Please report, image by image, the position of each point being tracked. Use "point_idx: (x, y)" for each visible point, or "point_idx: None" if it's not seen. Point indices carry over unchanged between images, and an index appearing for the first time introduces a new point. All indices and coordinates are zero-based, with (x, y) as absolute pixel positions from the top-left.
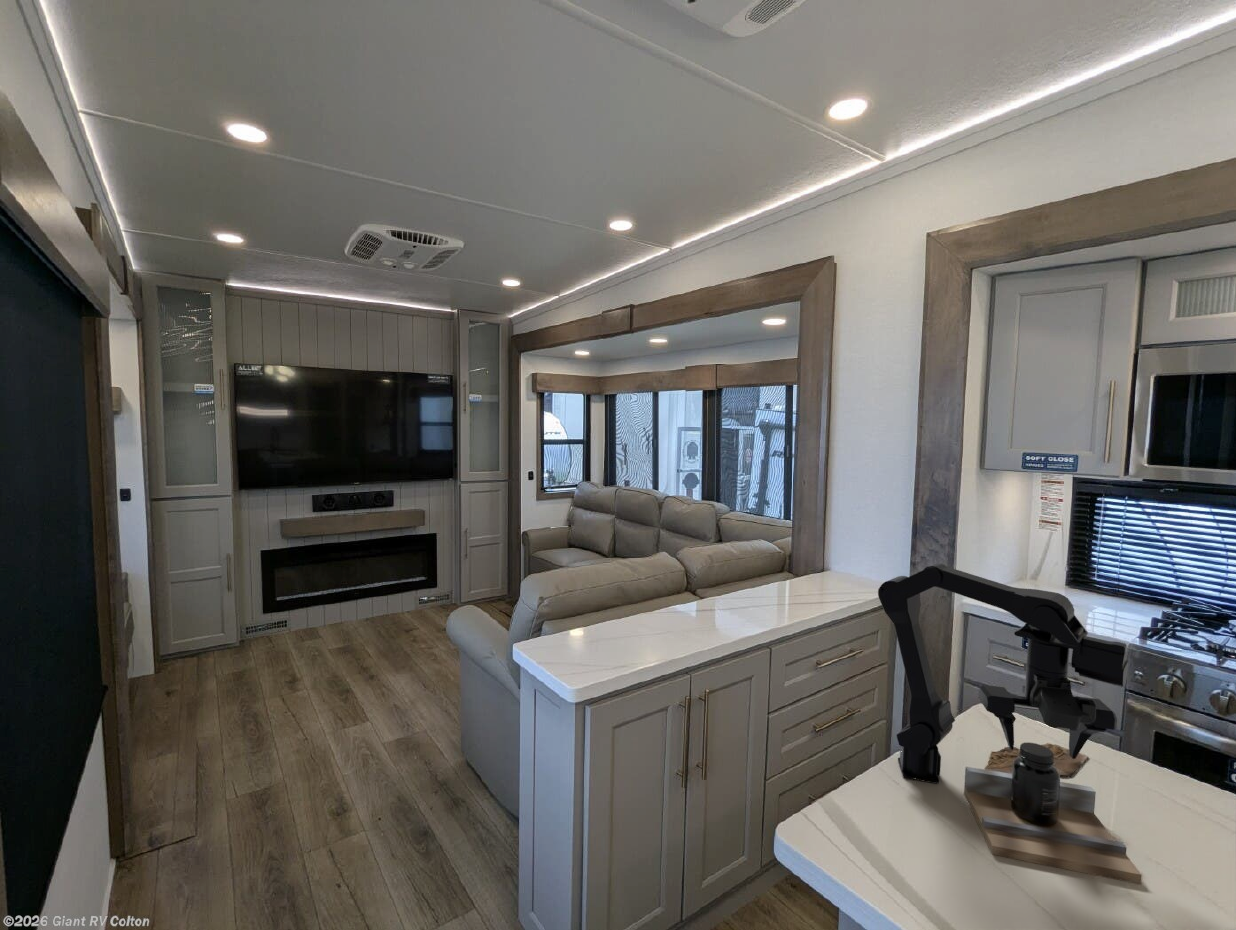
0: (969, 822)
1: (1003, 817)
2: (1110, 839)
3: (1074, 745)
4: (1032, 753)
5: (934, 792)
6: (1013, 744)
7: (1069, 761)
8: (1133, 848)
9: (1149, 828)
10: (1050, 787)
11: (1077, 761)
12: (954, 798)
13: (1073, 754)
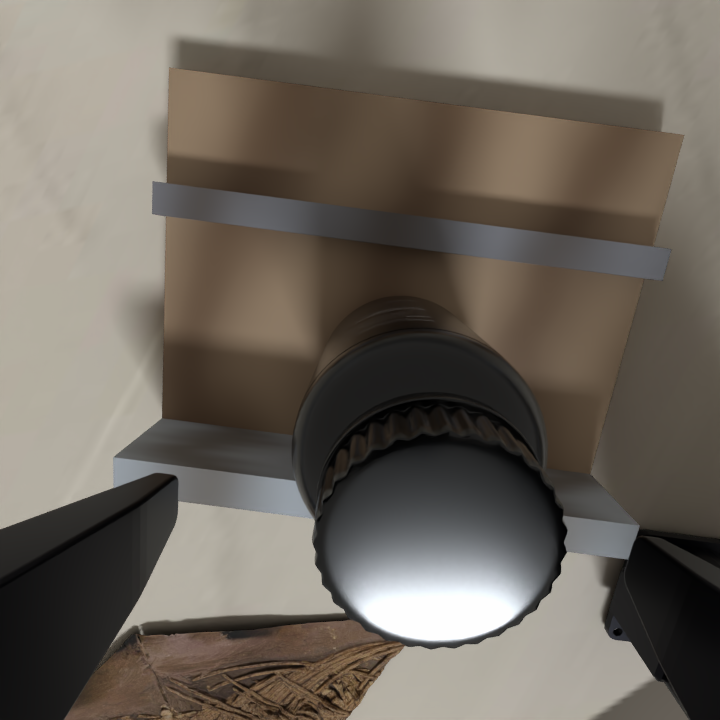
0: (640, 323)
1: (530, 333)
2: (179, 270)
3: (94, 553)
4: (527, 473)
5: (678, 478)
6: (680, 562)
7: (97, 709)
8: (112, 282)
9: (6, 401)
10: (394, 325)
11: (71, 712)
12: (619, 455)
13: (156, 486)
